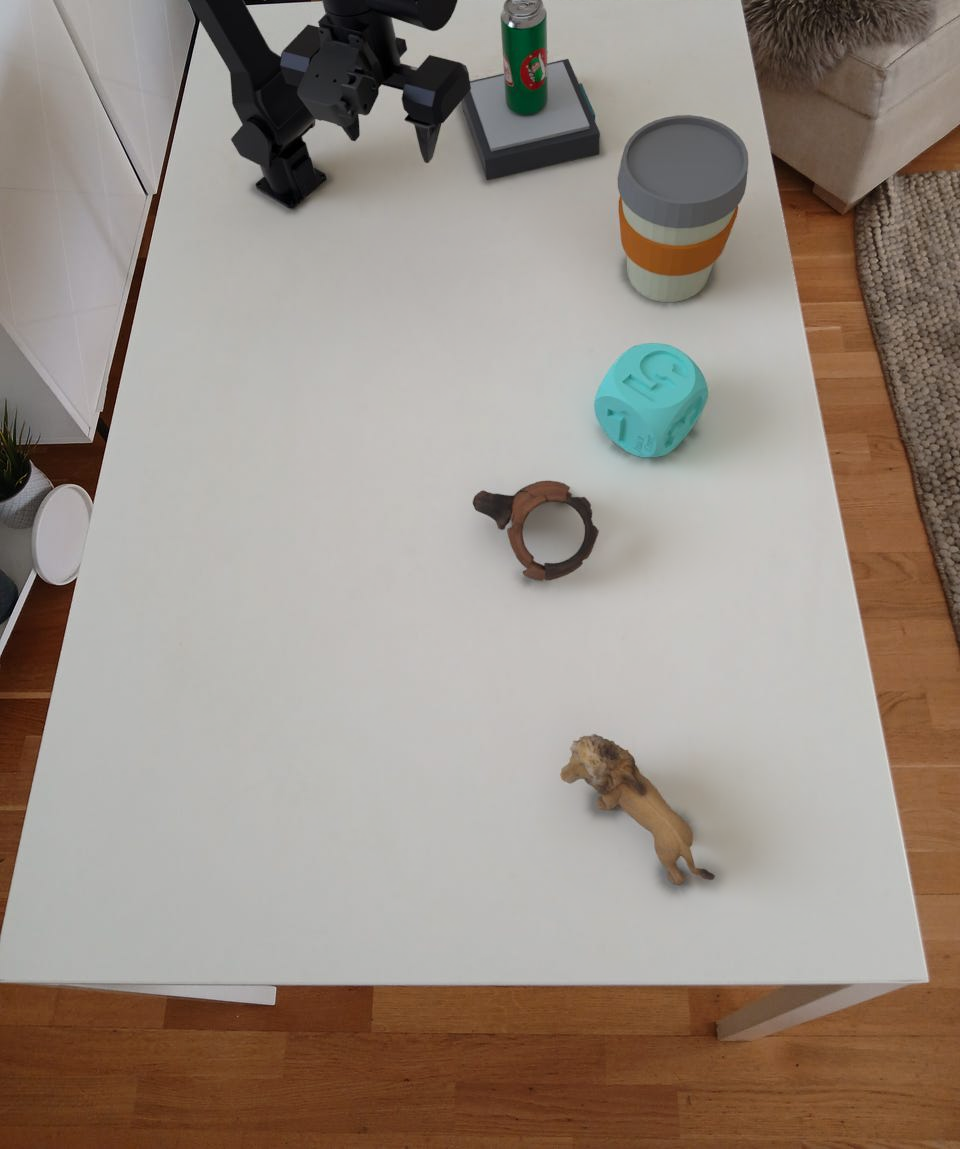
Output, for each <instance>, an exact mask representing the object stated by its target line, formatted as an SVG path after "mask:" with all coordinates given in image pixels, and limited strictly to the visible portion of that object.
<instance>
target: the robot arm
mask: <svg viewBox="0 0 960 1149" xmlns="http://www.w3.org/2000/svg"><path fill="white" fill-rule="evenodd" d="M187 1H188V3H189V6H190V7H191V9H192V10H193V12H194V13H195V15H196V17H197V18H198V20H199V23H200V24H201V26H202V27H203V29H204V30H205V32H206V34H207V36H208V38H209V39H210V41H211V42H212V43H213V46H214V47H215V49H216V51H217V52H218V54H219V56H220V57H221V59H222V61H223V62H224V64H225V66H226V68H227V70H228V71H229V75H230V92H231V104H232V107H233V109H234V110H235V113H236V114H237V117H238V118H239V120H240V122H241V126H240V127H239V128H238V130H237V131H236V132H235V133H234V134H233V136H232V137H231V138H230V141H231V143H232V144H233V146H234V148H235V149H236V151H237V153H238V154H239V155H240V157H241V158H244V159H246V160H248V161H251V163H254V164H256V165H257V166H259V167H260V169H261V173H262V175H263V176H262V178H261V179H259V180H258V181H257V182H255V188H256V189H257V190H258V191H259V192H261V193H262V194H264V195H266V196H268V198H271V199H273V200H274V201H276V202H277V203H279V204H281V205H283V206H284V207H286V208H287V209H289V210H290V209H291V210H293V209H295V208H296V207H297V206H299V204H300V203H302V202H303V201H304V200H305V199H306V198H308V197H309V196H310V195H311V194H312V193H313V192H314V191H315V190H317V189H318V188H319V187H320V186H321V185H323V184H324V183H326V181H327V180H328V178H327V174H326V173H325V172H323V171H322V170H319V169H318V168H316V167H314V163H313V160H312V158H311V155H310V153H309V150H308V146H307V143H306V141H304V139H303V136H305V134H307V133H308V132H309V131H310V130H311V129H313V128H314V127H315V126H316V120H317V121H324V122H327V123H330V124H335V125H336V126H338V127H340V128H341V129H342V130H343V131H344V133H345V134H346V135H347V136H348V139H349V140H350V141H352V142H356V141H357V140H358V139H359V138H360V135H361V132H360V131H361V130H360V117H359V115H362V116H368V115H369V114H370V113H371V111H372V109H373V107H374V105H375V103H376V101H377V99H378V96H379V93H380V92H379V90H380V89H379V88H380V87H381V86H384V87H388V88H389V87H390V88H392V89H396V90H399V91H402V94H401V103H402V108H403V111H405V112H406V113H407V115H406V116H405V118H404V121H405V122H406V123H410V124H412V125H413V126H414V130H415V134H416V138H417V142H418V147H419V152H420V154H421V157H422V160H423V162H424V163H425V164H429V163H430V162H431V161H432V159H433V158H434V153H435V151H436V147H437V143H438V139H439V135H440V131H441V128H442V124H443V123H445V122H446V120H447V119H448V118H449V116H450V115H452V113H454V110H455V109H456V108H457V107H458V106H459V104H461V101H462V99H463V98H464V97H465V96H466V95H467V93H468V92H469V91H470V90H471V86H470V81H471V80H470V72H469V70H468V66H467V65H465V64H464V63H462V62H459V61H455V60H453V59H452V60H451V59H448V58H443V57H439V56H435V55H432V54H429V55H428V56H427V57H426V58H425V59H424V60H423V62H422V63H421V64H420V65H419V66H418V67H417V66H413V65H409V64H405V63H402V61H401V58H402V56H404V55H405V53H406V52H407V51H408V46H407V41H406V38H401V37H397V36H396V32H395V27H394V23H393V19H394V20H398V21H401V22H404V23H406V24H410V25H412V26H416V27H419V28H422V29H425V30H427V31H431V32H436V31H439V30H441V29H443V28H444V27H445V26H446V25H447V24H448V23H449V21H450V20H451V18H452V16H453V14H454V12H455V10H456V7H457V4H458V0H321V2H322V5H323V9H324V13H325V14H324V15H323V16H322V17H321V18H320V19H319V20H318V21H317V24H318V26H316V25H313V24H307V25H306V26H305V27H304V28H303V29H302V30H301V31H300V32H299V33H298V34H297V35H296V36H295V37H294V38H293V39H292V40H291V41H290V42H289V43H288V44H287V46H285V48H284V49H283V50H282V51H281V54H280V55H279V54H278V53H276V52H274V51H273V50H272V49H271V48H270V46H269V45H268V43H267V41H266V40H265V38H264V36H263V34H262V32H261V30H260V28H259V26H258V25H257V23H256V21H255V19H254V17H253V16H252V13H251V11H250V9H249V8H248V6H247V5H246V3H245V1H244V0H187Z"/></svg>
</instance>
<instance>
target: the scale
mask: <svg viewBox="0 0 960 1149" xmlns="http://www.w3.org/2000/svg"><path fill="white" fill-rule="evenodd" d="M547 79H548V100H547V103H546V105H545V106H544V107H543V108H542V109H541V110H540V111H539V112H537V113H535V114H533V115H527V116H524V115H518V114H516V113H514V112H513V111H511V110H510V109H509V108H508V107H507V105H506V100H505V84H504V73H499V74H495V75H491V76H487V77H483V78H478V79H473V80H470V86H471V90H470V91H469V92H468V93H467V95H466V96H465V97H464V98H463V99H462V101H461V102H460V104H461V107H462V111H463V113H464V117H465V119H466V122H467V126H468V128H469V132H470V134H471V138H472V141H473V143H474V147H475V150H476V153H477V156H478V159H479V162H480V164H481V167H482V171H483V173H484V177H485V180H486V181H490V180H494V179H498V178H503V177H507V176H511V175H516V174H520V173H523V172H524V173H525V172H527V171H532V170H537V169H541V168H545V167H549V166H553V165H558V164H562V163H567V162H570V161H576V160H579V159H580V160H581V159H584V158H588V157H593V156H597V155H600V144H601V143H600V140H601V139H600V138H601V132H600V130H599V127H598V124H597V123H596V113H595V111H594V108H593V107H592V104H591V101H590V99H589V97H588V95H587V92H586V90H585V88H584V85H583V83H582V82H581V83H579V80H578V78H577V76H576V73H575V71H574V68H573V66H572V65H571V62H570V59H569V58H565V59H561V60H556V61H552V62H547Z"/></svg>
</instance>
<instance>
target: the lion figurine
mask: <svg viewBox="0 0 960 1149" xmlns="http://www.w3.org/2000/svg"><path fill="white" fill-rule="evenodd" d="M569 750H570V752H571V754H570V755H571V756H570V758H569V762H568V763H567V764H565V765H564V766H563V767H562V768H561V771H560V773H559V775H560V778H561V780H562V781H563V782H565V783H567V784H573V783H575V782H577V781H578V780H584V782H585V783H586V784H588V786H591V787H592V788H593V789H594V790H595V791H597V792H598V794H600V795H601V796H599V797H598V798H597V802H596V803H597V805H598V809H600V810H604V811H609V810H612V809H613V808H616V806H619V805H620V807H621V808H622V810H623V811H624V812H625V813H626V814H627V815H628V816H629V817H630V818H632V819H633V820H634V821H635V822H636V823H637V824H638V825H639V826H641V827H642V828H643V829H646V830H647V831H648V832H650V833H651V834H652V836H653V842H654V843H653V845H654V851H655V853H656V856H657V859H658V860H659V861H660V863H661V864H662V866H663V867H664V868H665V869H666V870H667V871H668V872H667V880H668V881H669V882H670V883H671V884H673V885H677V886H678V885H680V884H682V883H683V882H685V875H684V872H683V871H682V870H681V869H680V868H679V867H678V866H677V862H678V861H679V858H681V857H682V859H683V860H684V861H685V862H686V866H687V868H688V870H689V872H690V873H692V874H693V875H697V876H701V877H702V878H703V879H704V880H708V881H713V880H715V879H716V876H715V874H714V873H712V872H710V871H708V870H707V869H706V868H700V867H696V865H695V860H694V856H693V853H692V849H691V847H692V846H693V843H694V834H693V831H692V828H691V827H690V825H689V824H688V822H687V821H686V820H685V819H684V818H683V817H682V816H681V815H679V814H678V813H677V812H676V811H675V810H674V809H673V808H671V806H670V805H669V803H668V802H667V801H666V800H665V798H664V797H663V795H662V794H661V793H660V792H659V790H658V789H657V788H656V787H655V785H654V784H653V783H652V782H651V781H650V780H649V779H648V778H647V777H646V776H645V775H644V774H642V773H641V771H640V769H639V767H638V766H637V765H636V760H635V758H634V756H633V755H632V754H631V753H630V752H629V750H628V749H624V748H623V747H621V746H620V745H619V744H616V743H615V741H614V740H609V738H608V739H607V738H604V737H603V736H601V735H597V734H596V733H592V734H591V735H583V736H580V737H579V739H578V740H572V743H571V746H570V747H569Z"/></svg>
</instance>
